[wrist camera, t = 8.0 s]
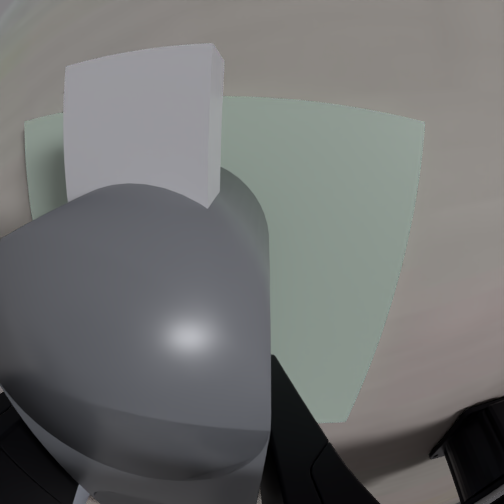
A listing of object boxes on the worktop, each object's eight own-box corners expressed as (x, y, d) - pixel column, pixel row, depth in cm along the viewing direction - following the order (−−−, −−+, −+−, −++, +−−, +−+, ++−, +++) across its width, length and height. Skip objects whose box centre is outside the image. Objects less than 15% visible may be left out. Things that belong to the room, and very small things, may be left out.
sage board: (343, 410, 14) (345, 421, 13) (92, 385, 14) (87, 394, 13) (414, 121, 8) (425, 122, 8) (36, 120, 9) (24, 121, 8)
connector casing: (254, 426, 11) (247, 542, 6) (153, 414, 11) (120, 520, 6) (278, 81, 6) (310, -31, 1) (108, 89, 6) (-69, 81, 1)
